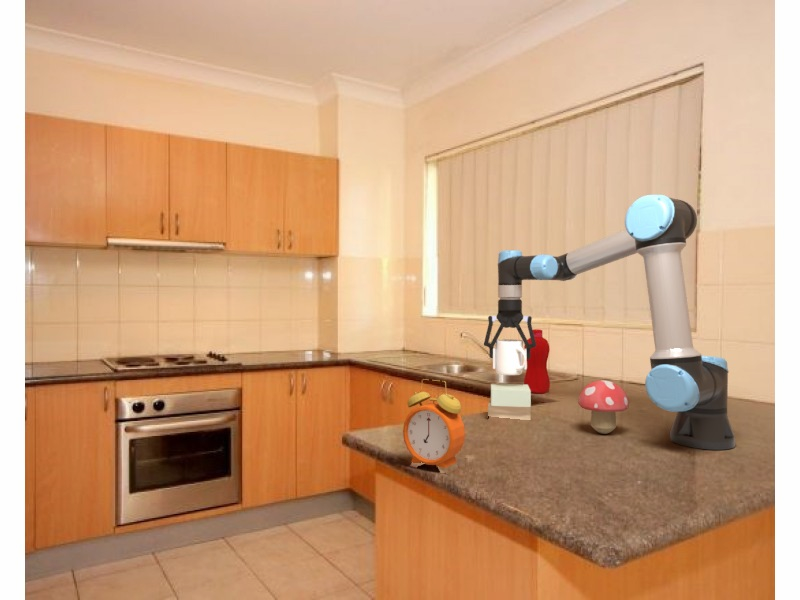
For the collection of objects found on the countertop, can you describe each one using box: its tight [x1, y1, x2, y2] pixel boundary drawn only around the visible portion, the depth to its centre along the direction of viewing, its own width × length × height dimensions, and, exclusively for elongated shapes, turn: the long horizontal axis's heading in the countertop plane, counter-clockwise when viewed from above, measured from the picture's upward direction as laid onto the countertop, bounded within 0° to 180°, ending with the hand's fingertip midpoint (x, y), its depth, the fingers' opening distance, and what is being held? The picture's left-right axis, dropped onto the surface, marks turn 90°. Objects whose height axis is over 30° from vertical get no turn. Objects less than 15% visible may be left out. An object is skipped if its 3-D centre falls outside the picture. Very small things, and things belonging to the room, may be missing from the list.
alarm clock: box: [402, 378, 466, 468], centre depth 128 cm, size 13×6×20 cm, turn 56°
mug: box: [495, 338, 526, 376], centre depth 180 cm, size 9×12×11 cm
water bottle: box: [523, 328, 551, 395], centre depth 225 cm, size 9×11×25 cm
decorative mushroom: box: [577, 379, 630, 435], centre depth 158 cm, size 13×13×15 cm
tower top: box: [490, 383, 532, 408], centre depth 180 cm, size 12×12×5 cm
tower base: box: [487, 397, 532, 420], centre depth 180 cm, size 13×13×5 cm
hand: (509, 368), depth 180 cm, fingers closed on mug, 9 cm apart
